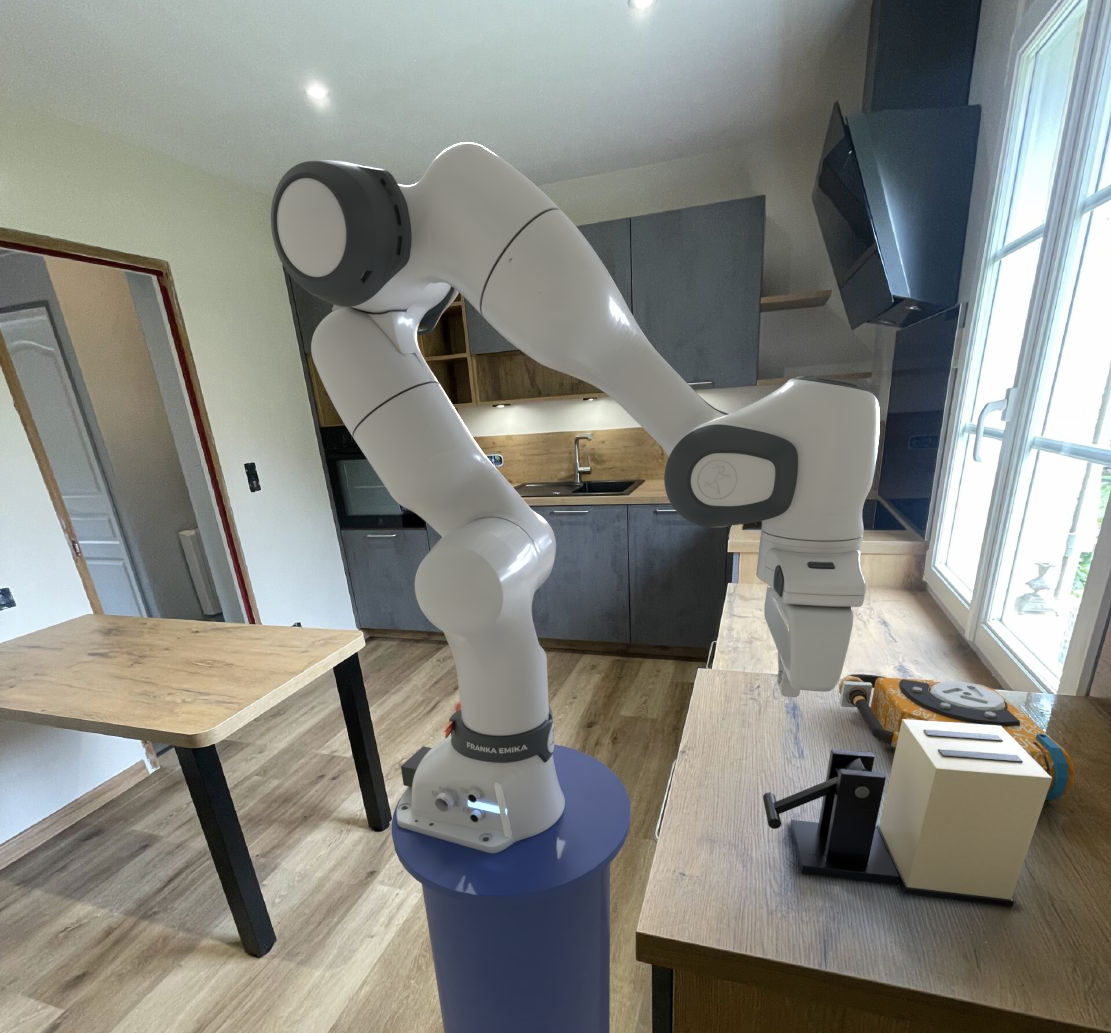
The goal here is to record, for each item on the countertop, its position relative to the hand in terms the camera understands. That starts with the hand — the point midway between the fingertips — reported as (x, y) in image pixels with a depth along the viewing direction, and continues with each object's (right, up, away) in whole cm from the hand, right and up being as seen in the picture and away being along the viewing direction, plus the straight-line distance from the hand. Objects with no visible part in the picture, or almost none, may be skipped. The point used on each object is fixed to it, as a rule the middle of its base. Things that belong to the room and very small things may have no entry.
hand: (787, 690), depth 61 cm
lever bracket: (+10, -20, +8) cm, 24 cm away
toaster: (+20, -21, +6) cm, 29 cm away
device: (+34, -11, +29) cm, 46 cm away
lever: (+6, -13, +6) cm, 16 cm away
